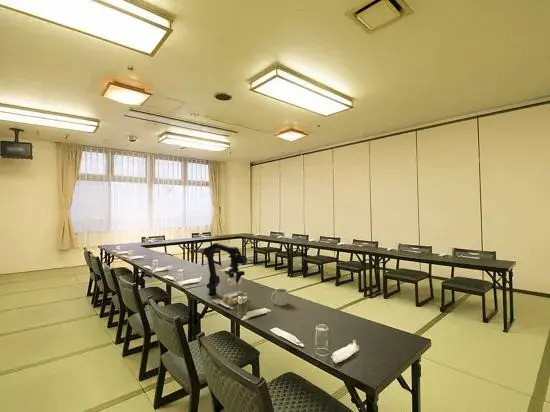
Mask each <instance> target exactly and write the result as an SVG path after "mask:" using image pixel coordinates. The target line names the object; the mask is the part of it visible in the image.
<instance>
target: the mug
mask: <svg viewBox="0 0 550 412" xmlns="http://www.w3.org/2000/svg"><path fill="white" fill-rule="evenodd" d="M274 295H275V298H274V299H275V300H274V299H273V296H274ZM270 298H271V301H272V302H273V303H275V305H277V306H280V307H282V306H286V305H288V289H285V288H277V289H275V291H274V292H272V294H271V297H270Z"/></svg>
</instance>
